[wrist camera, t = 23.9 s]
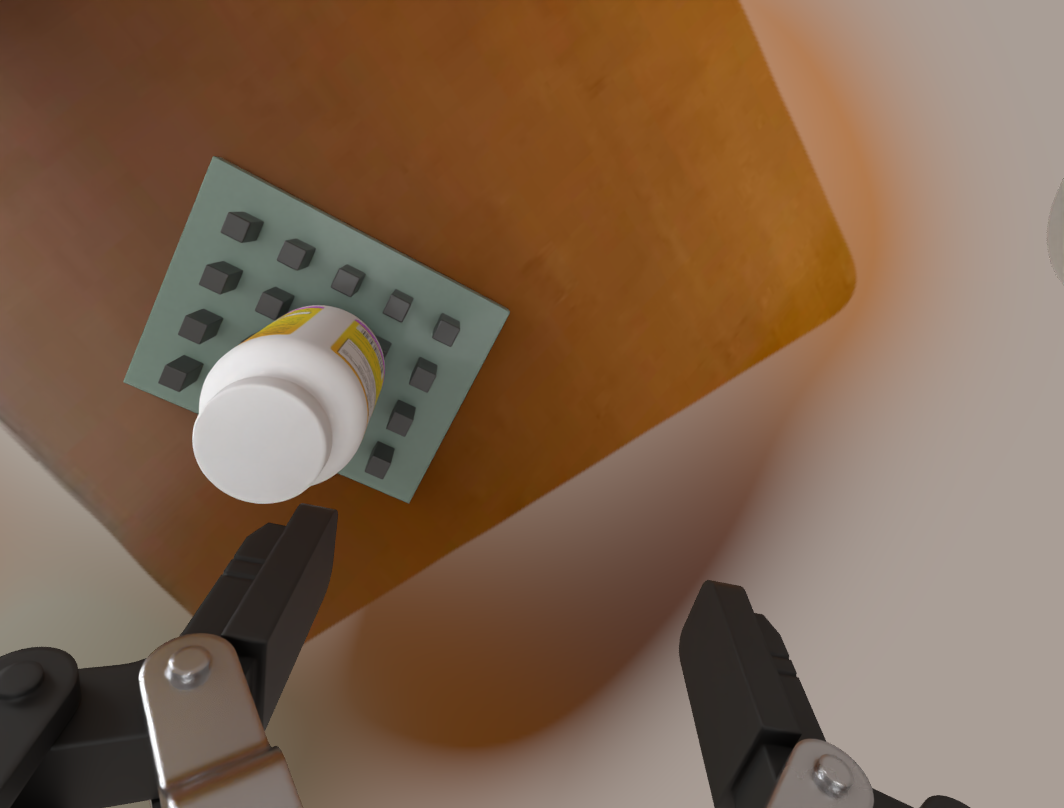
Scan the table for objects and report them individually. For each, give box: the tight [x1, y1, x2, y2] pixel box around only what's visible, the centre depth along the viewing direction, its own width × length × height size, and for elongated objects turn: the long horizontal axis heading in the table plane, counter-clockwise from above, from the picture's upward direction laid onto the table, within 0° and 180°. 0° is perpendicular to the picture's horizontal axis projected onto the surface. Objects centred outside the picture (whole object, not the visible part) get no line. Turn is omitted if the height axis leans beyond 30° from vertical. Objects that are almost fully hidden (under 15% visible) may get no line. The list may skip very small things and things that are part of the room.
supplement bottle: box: [192, 305, 385, 504], centre depth 29 cm, size 7×7×13 cm
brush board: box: [124, 156, 510, 503], centre depth 37 cm, size 18×14×4 cm
